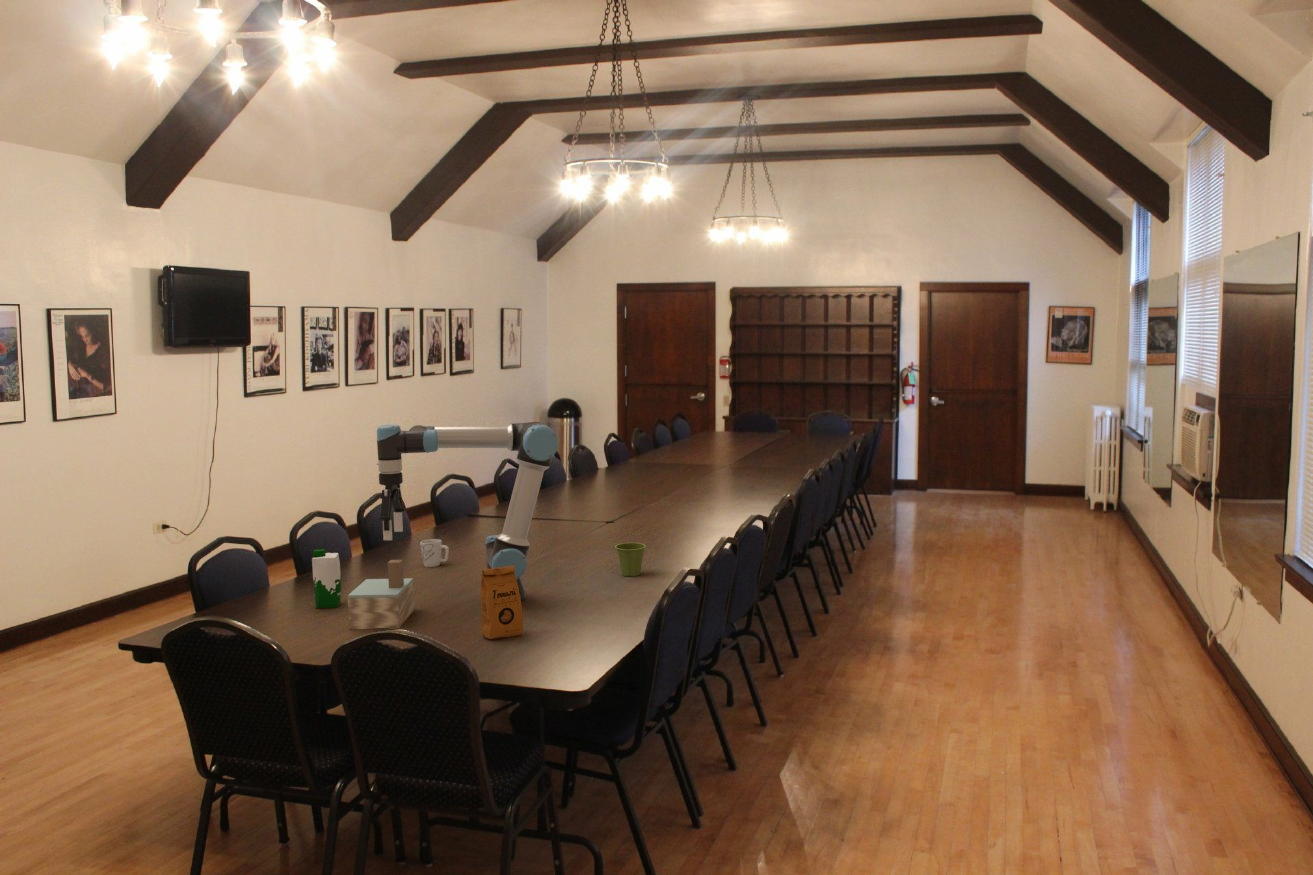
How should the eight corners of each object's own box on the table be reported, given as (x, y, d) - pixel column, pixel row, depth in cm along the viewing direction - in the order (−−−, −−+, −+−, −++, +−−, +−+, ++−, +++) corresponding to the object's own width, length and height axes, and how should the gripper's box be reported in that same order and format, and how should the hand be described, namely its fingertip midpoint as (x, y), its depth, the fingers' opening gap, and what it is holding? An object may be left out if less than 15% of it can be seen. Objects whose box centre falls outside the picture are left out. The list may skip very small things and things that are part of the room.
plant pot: (610, 576, 400) (609, 547, 399) (625, 569, 410) (624, 541, 409) (637, 579, 395) (636, 550, 393) (651, 572, 405) (651, 544, 404)
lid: (413, 581, 358) (411, 553, 357) (397, 597, 337) (396, 568, 336) (366, 581, 358) (365, 554, 357) (348, 598, 337) (346, 569, 336)
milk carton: (317, 603, 370) (313, 547, 368) (343, 601, 372) (340, 546, 370) (313, 609, 362) (309, 553, 360) (340, 608, 363) (337, 551, 361)
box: (414, 609, 360) (413, 581, 358) (398, 628, 338) (397, 598, 337) (368, 610, 360) (366, 581, 359) (349, 629, 338) (347, 599, 337)
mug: (452, 562, 428) (451, 538, 427) (446, 567, 419) (445, 543, 418) (425, 562, 429) (424, 538, 428) (418, 567, 421) (417, 543, 419)
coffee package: (526, 637, 326) (523, 568, 323) (486, 642, 321) (484, 572, 318) (517, 628, 335) (515, 561, 332) (479, 634, 330) (476, 565, 327)
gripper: (389, 466, 355) (391, 528, 358) (368, 478, 331) (371, 543, 333) (411, 466, 355) (413, 527, 358) (391, 477, 331) (395, 543, 333)
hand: (393, 535), depth 345 cm, fingers open, 13 cm apart
